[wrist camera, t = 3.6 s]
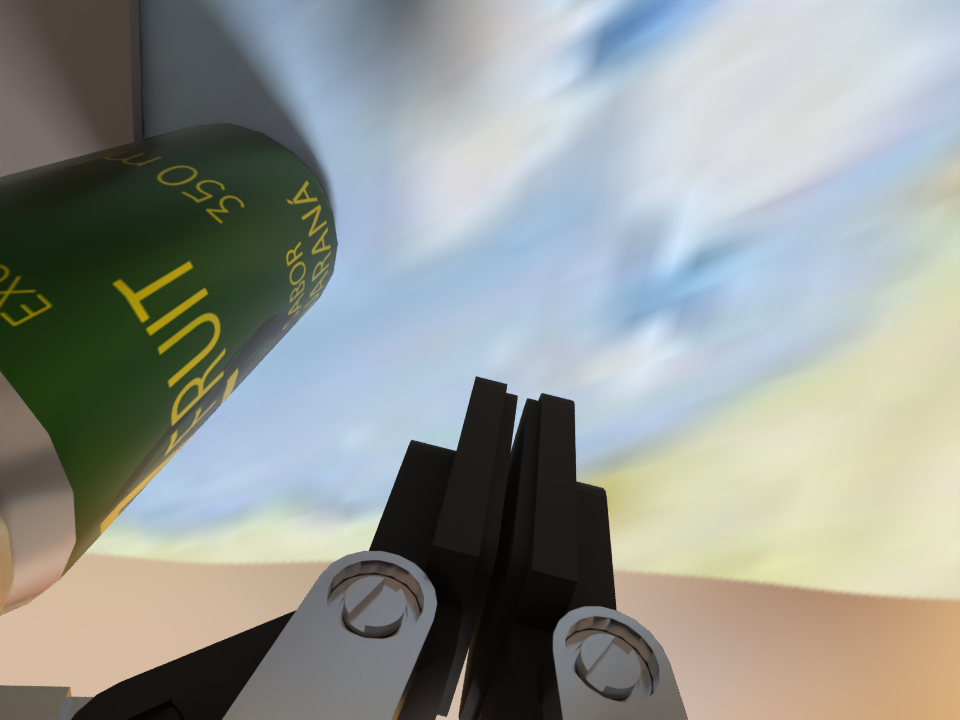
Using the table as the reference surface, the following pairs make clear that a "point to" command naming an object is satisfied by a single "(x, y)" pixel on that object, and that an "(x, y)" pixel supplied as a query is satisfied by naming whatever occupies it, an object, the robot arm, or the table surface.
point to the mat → (67, 79)
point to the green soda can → (136, 320)
